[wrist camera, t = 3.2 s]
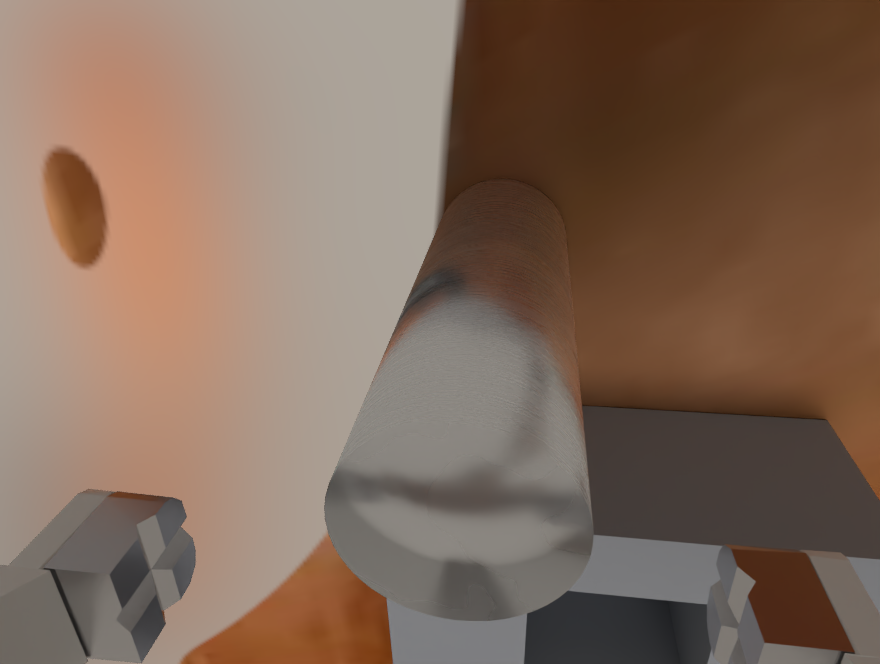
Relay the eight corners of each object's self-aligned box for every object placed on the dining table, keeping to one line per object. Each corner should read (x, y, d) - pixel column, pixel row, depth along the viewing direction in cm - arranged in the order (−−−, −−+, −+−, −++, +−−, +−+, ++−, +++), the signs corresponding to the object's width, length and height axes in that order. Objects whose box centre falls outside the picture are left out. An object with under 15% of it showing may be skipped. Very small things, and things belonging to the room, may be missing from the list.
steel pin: (436, 177, 19) (308, 414, 9) (570, 179, 19) (606, 432, 8) (439, 297, 21) (338, 607, 11) (562, 302, 20) (581, 633, 10)
